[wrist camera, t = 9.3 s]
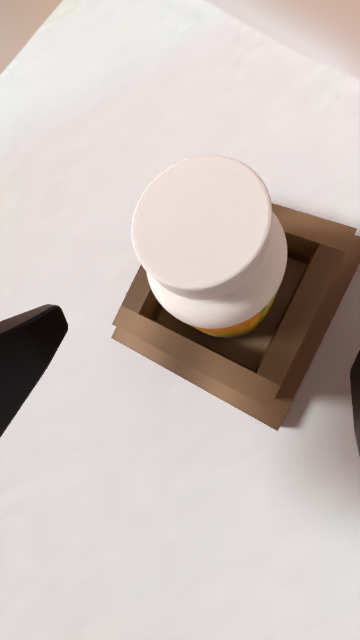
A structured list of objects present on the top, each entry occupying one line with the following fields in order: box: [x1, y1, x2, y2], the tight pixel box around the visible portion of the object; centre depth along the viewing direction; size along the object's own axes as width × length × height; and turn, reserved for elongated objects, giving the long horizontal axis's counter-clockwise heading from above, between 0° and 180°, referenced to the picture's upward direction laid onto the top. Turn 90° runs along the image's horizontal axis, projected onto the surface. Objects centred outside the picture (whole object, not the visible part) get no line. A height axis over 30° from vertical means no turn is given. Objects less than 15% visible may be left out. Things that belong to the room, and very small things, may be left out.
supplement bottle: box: [131, 154, 287, 338], centre depth 12 cm, size 5×5×10 cm
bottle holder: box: [111, 204, 360, 431], centre depth 15 cm, size 12×12×4 cm
